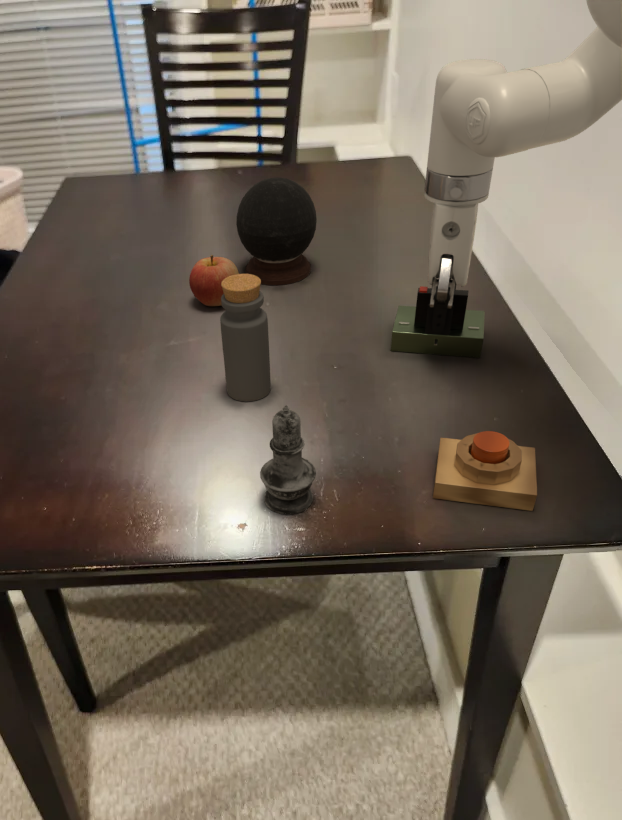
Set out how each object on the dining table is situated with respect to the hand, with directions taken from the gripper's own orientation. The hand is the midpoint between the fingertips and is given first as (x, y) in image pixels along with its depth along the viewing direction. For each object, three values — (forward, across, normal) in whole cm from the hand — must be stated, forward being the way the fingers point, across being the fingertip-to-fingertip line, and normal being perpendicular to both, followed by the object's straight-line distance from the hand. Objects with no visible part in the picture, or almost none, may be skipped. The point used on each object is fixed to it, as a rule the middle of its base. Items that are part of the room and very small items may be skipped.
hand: (439, 319), depth 94 cm
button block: (+4, -28, -7) cm, 30 cm away
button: (0, -29, -7) cm, 29 cm away
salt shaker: (+4, -36, +13) cm, 38 cm away
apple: (+4, +8, +35) cm, 36 cm away
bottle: (+4, -16, +23) cm, 28 cm away
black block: (+1, 0, 0) cm, 1 cm away
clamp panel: (+4, 0, 0) cm, 4 cm away
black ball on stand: (+4, +22, +28) cm, 36 cm away
